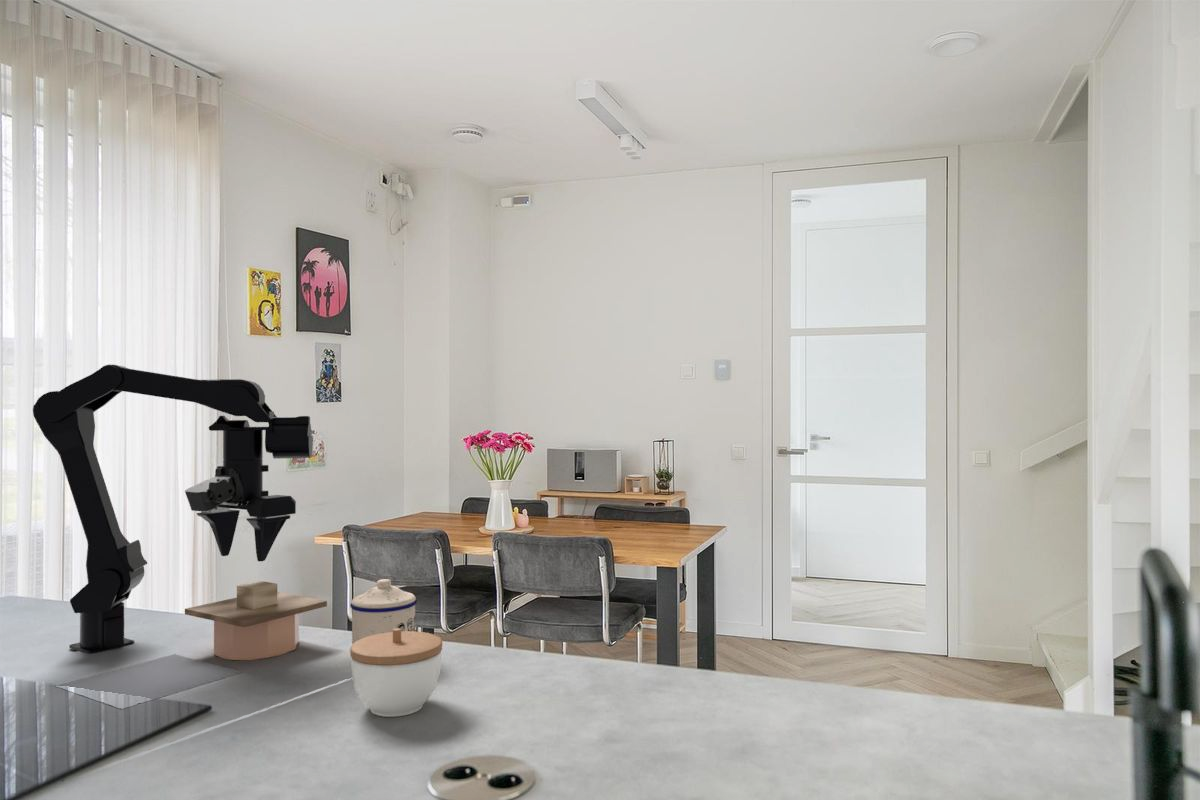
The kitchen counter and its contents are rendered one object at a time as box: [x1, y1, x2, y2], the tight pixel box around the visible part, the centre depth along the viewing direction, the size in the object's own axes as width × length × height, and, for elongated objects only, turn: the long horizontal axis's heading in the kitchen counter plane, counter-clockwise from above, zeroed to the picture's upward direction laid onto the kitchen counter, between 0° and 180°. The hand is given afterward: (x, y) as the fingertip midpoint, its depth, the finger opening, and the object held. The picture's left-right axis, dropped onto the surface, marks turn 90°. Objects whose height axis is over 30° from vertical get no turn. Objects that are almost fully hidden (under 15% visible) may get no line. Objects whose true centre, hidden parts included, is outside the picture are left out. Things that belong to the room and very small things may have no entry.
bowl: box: [213, 613, 300, 661], centre depth 121 cm, size 11×11×6 cm
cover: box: [184, 580, 328, 627], centre depth 121 cm, size 14×14×4 cm
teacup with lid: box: [350, 578, 418, 645], centre depth 116 cm, size 12×9×12 cm
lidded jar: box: [349, 628, 443, 718], centre depth 97 cm, size 11×11×9 cm
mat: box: [58, 653, 243, 700], centre depth 107 cm, size 16×16×1 cm
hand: (242, 558), depth 128 cm, fingers open, 9 cm apart
